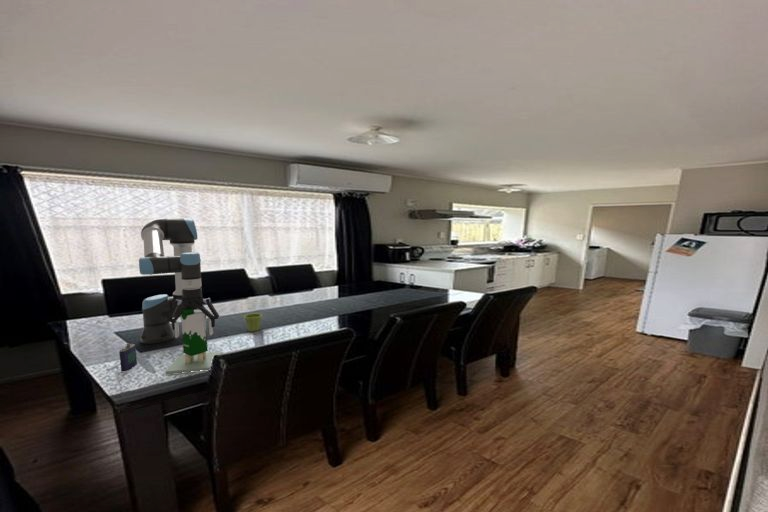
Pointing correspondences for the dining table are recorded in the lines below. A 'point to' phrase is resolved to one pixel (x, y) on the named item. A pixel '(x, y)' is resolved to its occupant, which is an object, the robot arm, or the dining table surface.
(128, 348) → the flask
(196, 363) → the peg stand
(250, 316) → the plant pot
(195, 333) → the soya milk
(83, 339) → the dining table surface
